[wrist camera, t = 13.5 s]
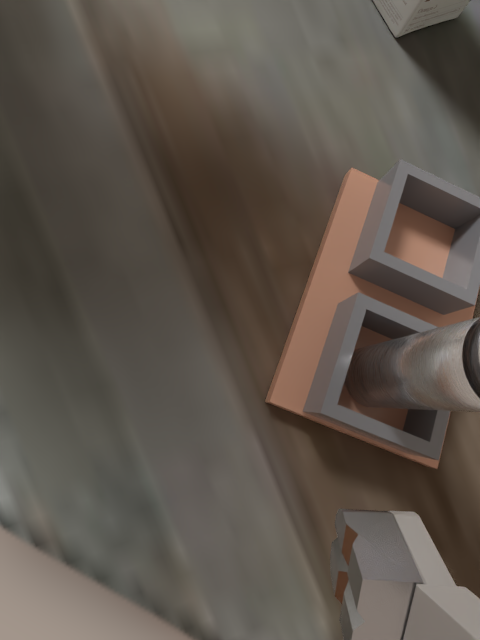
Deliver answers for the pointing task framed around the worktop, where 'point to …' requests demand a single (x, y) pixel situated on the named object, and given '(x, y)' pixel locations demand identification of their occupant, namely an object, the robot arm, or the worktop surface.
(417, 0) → the supplement box
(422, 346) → the grey capped bottle
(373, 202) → the grey double cup holder
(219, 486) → the worktop surface
